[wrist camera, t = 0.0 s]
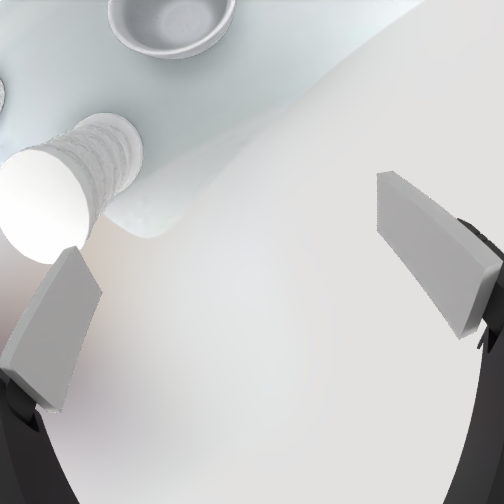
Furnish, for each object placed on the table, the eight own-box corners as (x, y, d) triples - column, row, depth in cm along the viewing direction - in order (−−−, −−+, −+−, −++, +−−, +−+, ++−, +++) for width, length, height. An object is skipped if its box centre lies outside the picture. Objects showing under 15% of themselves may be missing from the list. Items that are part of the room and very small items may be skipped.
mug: (211, -45, 22) (208, -92, 11) (274, 4, 27) (299, -28, 16) (125, 32, 27) (82, 15, 16) (186, 80, 32) (168, 81, 21)
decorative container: (160, 142, 36) (117, 193, 21) (117, 207, 40) (68, 287, 25) (93, 96, 31) (11, 120, 16) (56, 166, 35) (-18, 226, 20)
